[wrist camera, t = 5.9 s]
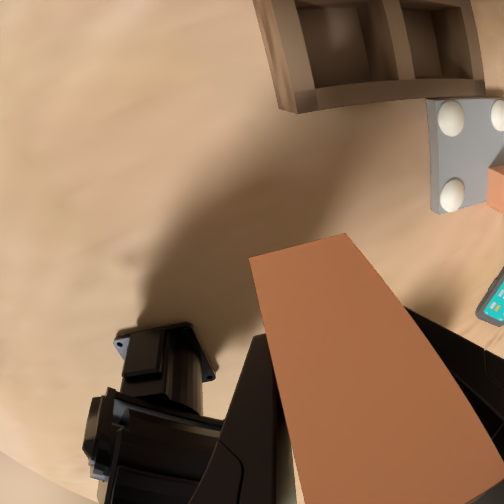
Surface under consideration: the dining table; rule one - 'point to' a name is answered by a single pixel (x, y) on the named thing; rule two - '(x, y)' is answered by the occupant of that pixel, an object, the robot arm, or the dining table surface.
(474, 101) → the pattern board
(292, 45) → the socket block
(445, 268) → the dining table surface
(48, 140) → the dining table surface
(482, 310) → the smartphone
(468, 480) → the peg
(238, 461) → the robot arm
